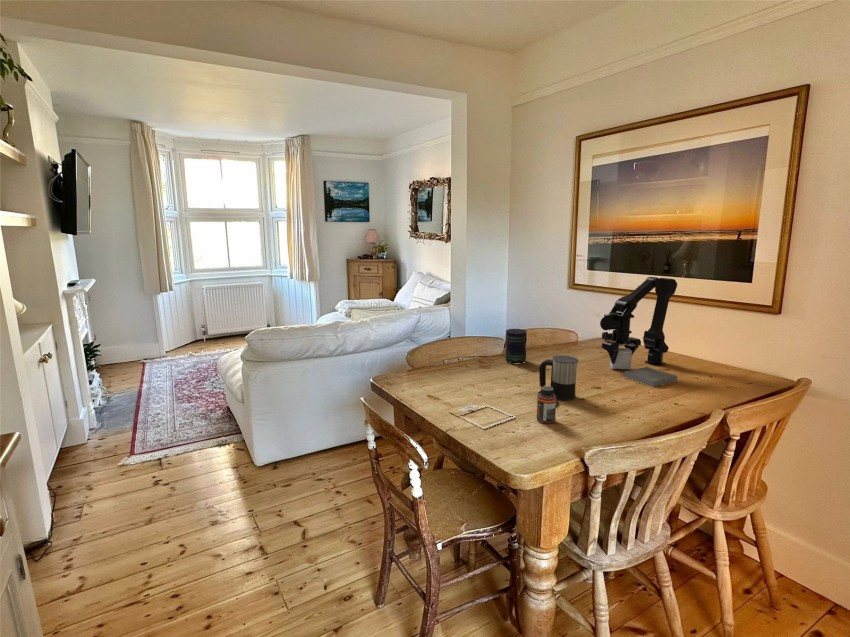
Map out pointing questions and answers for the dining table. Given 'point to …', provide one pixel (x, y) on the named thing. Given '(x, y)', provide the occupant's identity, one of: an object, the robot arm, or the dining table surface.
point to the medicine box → (622, 359)
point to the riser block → (650, 376)
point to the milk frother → (560, 376)
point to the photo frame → (482, 407)
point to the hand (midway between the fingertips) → (620, 362)
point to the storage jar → (515, 345)
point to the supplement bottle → (546, 405)
